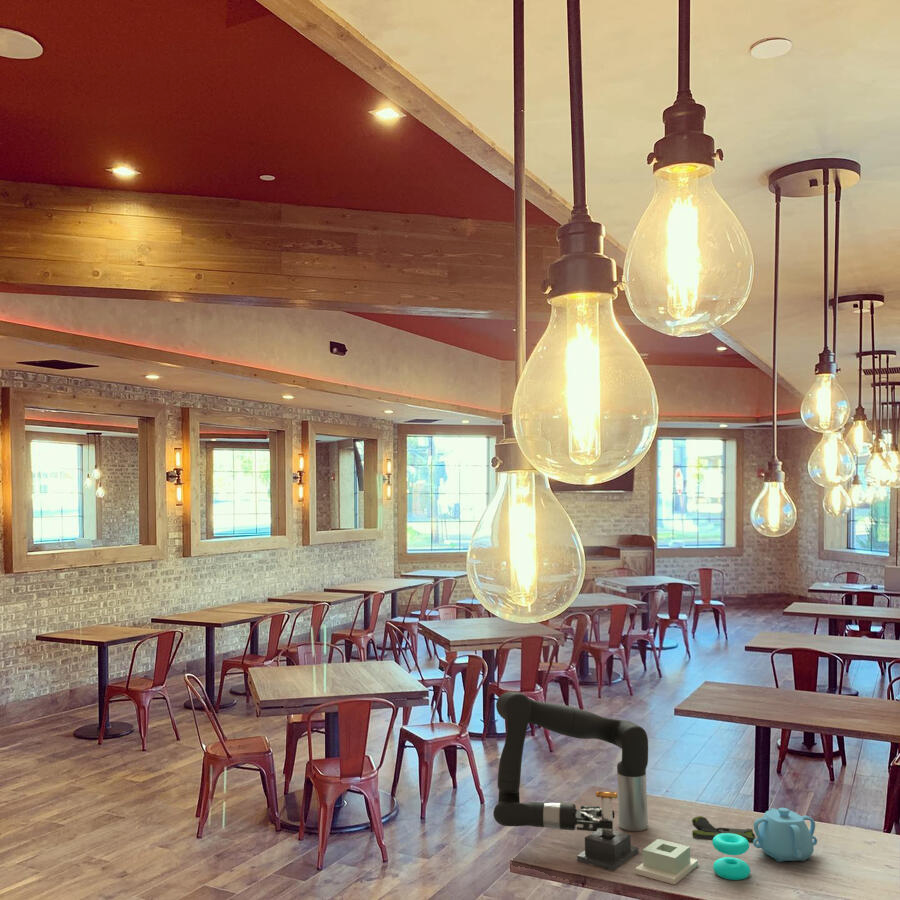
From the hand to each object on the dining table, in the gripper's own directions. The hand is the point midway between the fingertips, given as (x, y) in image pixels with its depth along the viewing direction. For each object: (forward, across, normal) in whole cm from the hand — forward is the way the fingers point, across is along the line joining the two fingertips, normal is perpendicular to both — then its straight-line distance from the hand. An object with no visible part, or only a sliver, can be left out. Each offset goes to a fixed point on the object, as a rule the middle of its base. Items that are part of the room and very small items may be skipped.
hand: (613, 819), depth 262 cm
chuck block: (-2, 0, +11) cm, 11 cm away
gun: (+32, +26, +12) cm, 43 cm away
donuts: (+33, -5, +11) cm, 35 cm away
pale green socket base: (+15, -6, +11) cm, 20 cm away
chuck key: (-2, 0, +10) cm, 10 cm away
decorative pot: (+50, +11, +11) cm, 52 cm away
